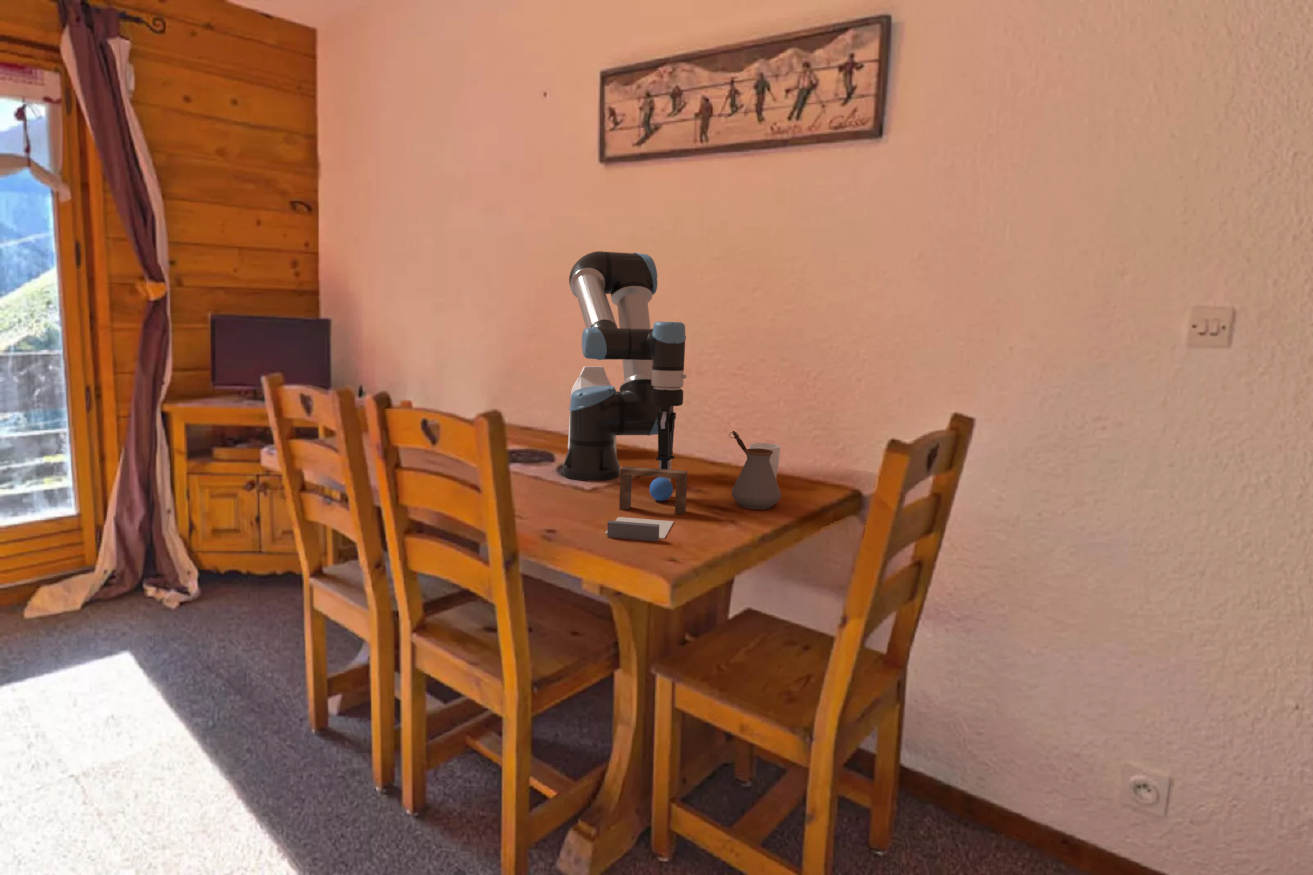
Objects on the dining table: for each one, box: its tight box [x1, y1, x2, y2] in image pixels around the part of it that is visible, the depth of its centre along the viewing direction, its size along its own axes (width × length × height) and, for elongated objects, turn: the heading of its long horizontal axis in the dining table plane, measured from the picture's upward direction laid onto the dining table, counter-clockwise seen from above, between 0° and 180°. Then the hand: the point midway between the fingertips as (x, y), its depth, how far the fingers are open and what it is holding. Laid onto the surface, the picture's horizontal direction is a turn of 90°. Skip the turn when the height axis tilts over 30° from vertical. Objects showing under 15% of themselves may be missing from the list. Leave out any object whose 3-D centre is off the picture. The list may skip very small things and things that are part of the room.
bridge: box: [618, 465, 688, 516], centre depth 170 cm, size 14×3×9 cm, turn 80°
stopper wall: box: [606, 520, 660, 542], centre depth 150 cm, size 10×2×3 cm, turn 80°
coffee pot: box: [728, 430, 782, 510], centre depth 182 cm, size 21×12×15 cm, turn 17°
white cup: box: [749, 442, 781, 479], centre depth 200 cm, size 8×8×10 cm
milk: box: [567, 366, 618, 455], centre depth 233 cm, size 12×12×26 cm
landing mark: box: [604, 516, 675, 540], centre depth 157 cm, size 12×12×1 cm
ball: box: [648, 477, 674, 502], centre depth 179 cm, size 6×6×6 cm
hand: (664, 486), depth 183 cm, fingers closed
